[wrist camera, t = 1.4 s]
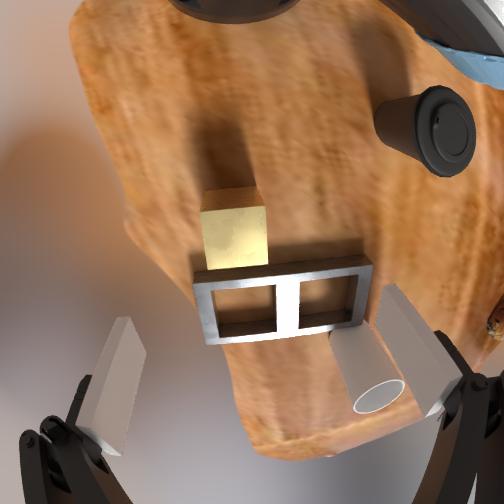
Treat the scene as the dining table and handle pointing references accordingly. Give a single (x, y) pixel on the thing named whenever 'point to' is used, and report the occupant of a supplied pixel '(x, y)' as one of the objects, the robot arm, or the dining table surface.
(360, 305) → the grey flat frame
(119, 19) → the dining table surface
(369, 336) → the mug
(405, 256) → the dining table surface
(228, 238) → the pale yellow block
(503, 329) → the bread roll
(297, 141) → the dining table surface
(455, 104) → the coffee cup
